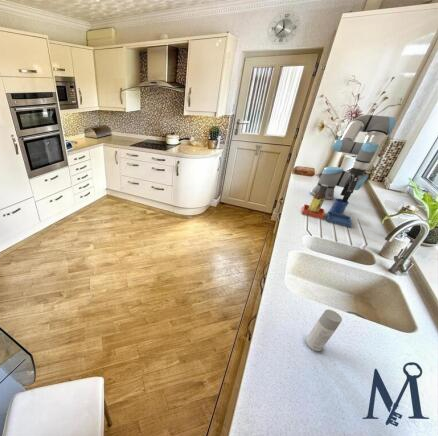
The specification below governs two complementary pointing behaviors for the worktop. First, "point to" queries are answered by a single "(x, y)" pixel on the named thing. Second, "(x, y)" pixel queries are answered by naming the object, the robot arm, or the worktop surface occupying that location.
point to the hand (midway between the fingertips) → (343, 198)
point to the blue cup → (339, 206)
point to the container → (323, 330)
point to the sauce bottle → (318, 199)
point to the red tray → (318, 215)
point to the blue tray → (339, 219)
